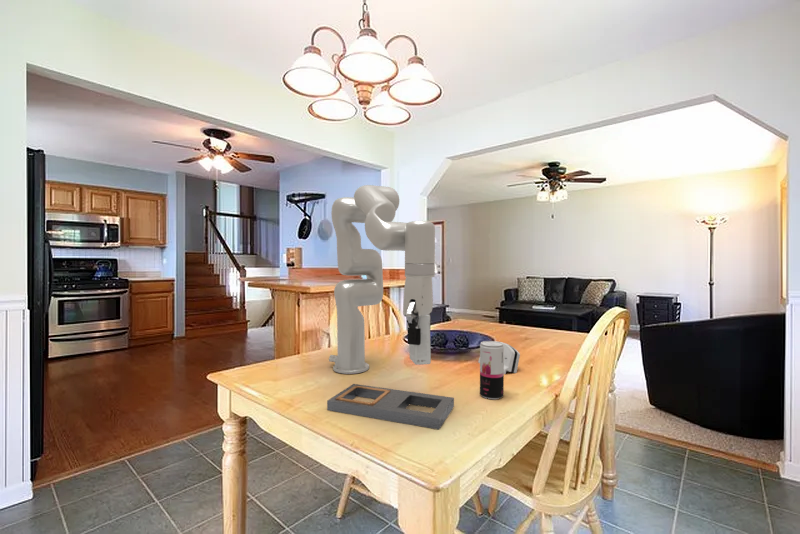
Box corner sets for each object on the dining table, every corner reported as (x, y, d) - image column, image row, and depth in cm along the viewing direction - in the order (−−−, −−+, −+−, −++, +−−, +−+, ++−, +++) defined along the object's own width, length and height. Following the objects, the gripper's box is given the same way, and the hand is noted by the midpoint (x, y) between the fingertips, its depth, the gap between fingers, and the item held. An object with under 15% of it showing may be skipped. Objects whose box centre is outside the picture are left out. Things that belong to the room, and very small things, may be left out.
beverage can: (487, 401, 104) (487, 346, 104) (475, 392, 110) (475, 341, 110) (508, 398, 106) (508, 345, 106) (495, 390, 112) (496, 340, 112)
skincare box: (431, 364, 94) (431, 315, 93) (413, 365, 93) (414, 316, 92) (424, 357, 100) (424, 311, 99) (407, 358, 99) (408, 312, 98)
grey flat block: (327, 410, 98) (327, 399, 98) (353, 392, 111) (353, 383, 111) (439, 429, 87) (439, 417, 87) (453, 407, 100) (453, 396, 100)
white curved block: (477, 361, 143) (485, 336, 144) (487, 365, 145) (495, 339, 145) (504, 374, 127) (513, 346, 128) (515, 378, 129) (523, 349, 130)
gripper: (417, 269, 105) (416, 333, 105) (392, 272, 89) (392, 347, 89) (443, 269, 102) (442, 335, 103) (422, 272, 86) (422, 350, 87)
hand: (419, 340), depth 96 cm, fingers closed on skincare box, 7 cm apart
